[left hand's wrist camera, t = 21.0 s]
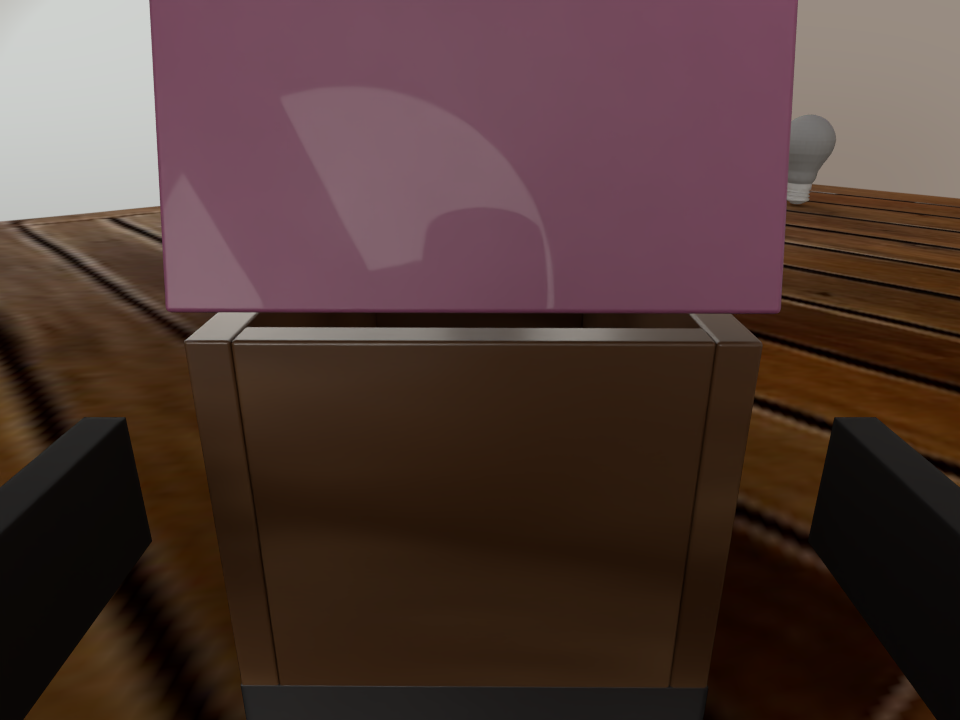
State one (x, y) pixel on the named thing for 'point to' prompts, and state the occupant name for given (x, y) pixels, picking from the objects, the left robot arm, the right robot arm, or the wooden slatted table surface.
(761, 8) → the lid
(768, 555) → the wooden slatted table surface
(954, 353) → the wooden slatted table surface
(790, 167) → the light bulb
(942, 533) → the left robot arm
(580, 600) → the chest
